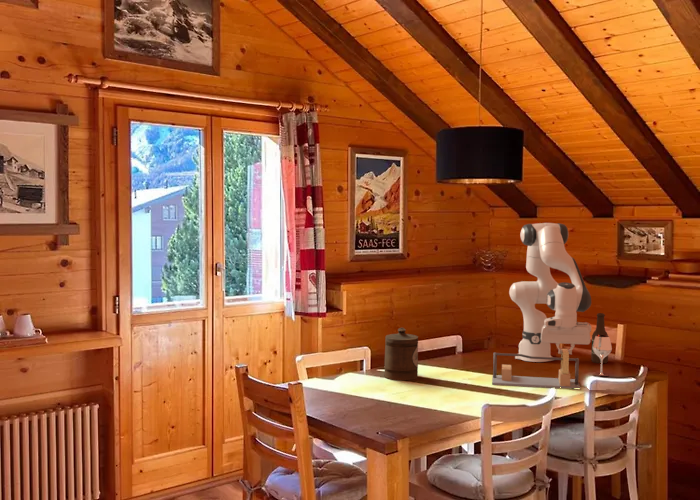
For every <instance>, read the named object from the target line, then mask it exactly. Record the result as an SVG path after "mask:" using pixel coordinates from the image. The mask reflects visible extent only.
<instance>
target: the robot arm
mask: <svg viewBox="0 0 700 500" xmlns="http://www.w3.org/2000/svg"><path fill="white" fill-rule="evenodd" d="M519 235H520V241H521V242H522V244H523V245H525V246H527V250H526V259H525V260H526V263H525V268H526V271H527V273H529V274H530V275H532V276H534V277H536V278H537V280H536V281H533V280H532V281H530V280H529V281H525V280H524V281H523V280H521V281H517V282H513V283H512V284H511V285H510V287H509V291H508V294H509V297H510V299H511V301H512V302H514V303H515V304H516V305H517V306H518V307H519V308H520V311H521V313H522V317H523V318H522V319H523V330H522V339H521V340H520V342H519V343H518V353H517V354H523V355H527V356H532V357H553V356H552V355H551V344H555V345H556V348H557V350H558V352H557V353H558V354H559V355H561V354H562V349H563V348H560V344H565V345H567V344H568V345H569V344H570V347H569V349H568V348H567V349H568V352H569V355H573V350H574V348H575V345H590V343H592V339H591V332H592V324H591V323H589V322H587V321H585V322H582V321H577V320H578V319H577V318H578V313H577V312H581V313H585V311H588V310H589V309H590V308H591V306H592V296H591V293H590V291H589V290H588V288H587V286H586V284H585V283H586V282H585V281H584V279H583V276H582V274H581V270H580V268H579V266H578V263H577V261H576V259H575V258H574V257H572V256H571V255H570V254H569V253H568V252H567V250H566V247H565V244H566V243H567V242H568V239H569V230H568V227H567V225H566V224H563V223H560V222H558V223H554V222H542V223H541V222H539V223H538V222H537V223H527V224H524V225H523V226H522V227H521V230H520V234H519ZM550 268H551V269H555V270H558V271H561V272H563V273H565V274H566V275H568V276H569V279H570V281H571V283H570V282H557V281H556V279H554V277H553V275H552V274H551V269H550ZM536 304H538V305H540V304H541V305H542V304H544V305H545V304H546V305H547V308H549V309H550V310H552V311H555V313H554V316H552V317H547V315H546V313H544V312H543V311H541V310H539V309H537V308H536ZM514 359H515V360H516V359H517V360H522V361H524V362H533V363H535V362H536V363H544V362H546V363H547V362H551V361H553V360H549V359H530V358H526V357H522V356H514Z"/></svg>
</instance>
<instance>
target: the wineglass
mask: <svg viewBox="0 0 700 500" xmlns="http://www.w3.org/2000/svg"><path fill="white" fill-rule="evenodd" d="M592 349H593V351H594V353H595V354H596V355H597V356H598V357H599V358H600V360H601V364H600V374H599V375H604V374H605V373H603V359H604V358H605V357H606V356H608V357H609V355H610V354H611V352H612V349H613V348H612V342H611V338H610V336H609V335H608V336H607V335H596V336H595V339H594V343H593V347H592V346H591V350H592Z"/></svg>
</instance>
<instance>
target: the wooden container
mask: <svg viewBox="0 0 700 500" xmlns="http://www.w3.org/2000/svg"><path fill="white" fill-rule="evenodd" d="M384 340H385V342H384V344H385V345H384V347H385V348H384V378H386V379H389V380H393V381H411V380H415V379H417V378H418V375H419V373H418V371H419V370H418V369H419V336H418V335H417V334H416V335H415V334H410V333H406V328H404V327H400V328H398V329H397V333H391V334H386V335H385V339H384Z"/></svg>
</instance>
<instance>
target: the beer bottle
mask: <svg viewBox="0 0 700 500" xmlns="http://www.w3.org/2000/svg"><path fill="white" fill-rule="evenodd" d="M605 316H606V314H605V313H603V312H602V313H601V312H598V313H597V314H596V317H597V318H596V324H595V325H596V327H595V330H594V331H593V333H592V335H591V336H592V337H591V351H590V353H591V354H590V355H591V356H590V357H591V358H590V359H591V363H594V364H599V363H601V360H600V358H599V357H598V356H597V355H596V354H595V353H594V351H593V349H592V347H593V343H594V339H595V336H596V335H607V336H609V334H608V332H607V331H606V328H605V327H606V326H605V324H606V323H605ZM607 362H608V363H609V355H608V356H606V357H605V358H604V359H603V363H605V364H607Z"/></svg>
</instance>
